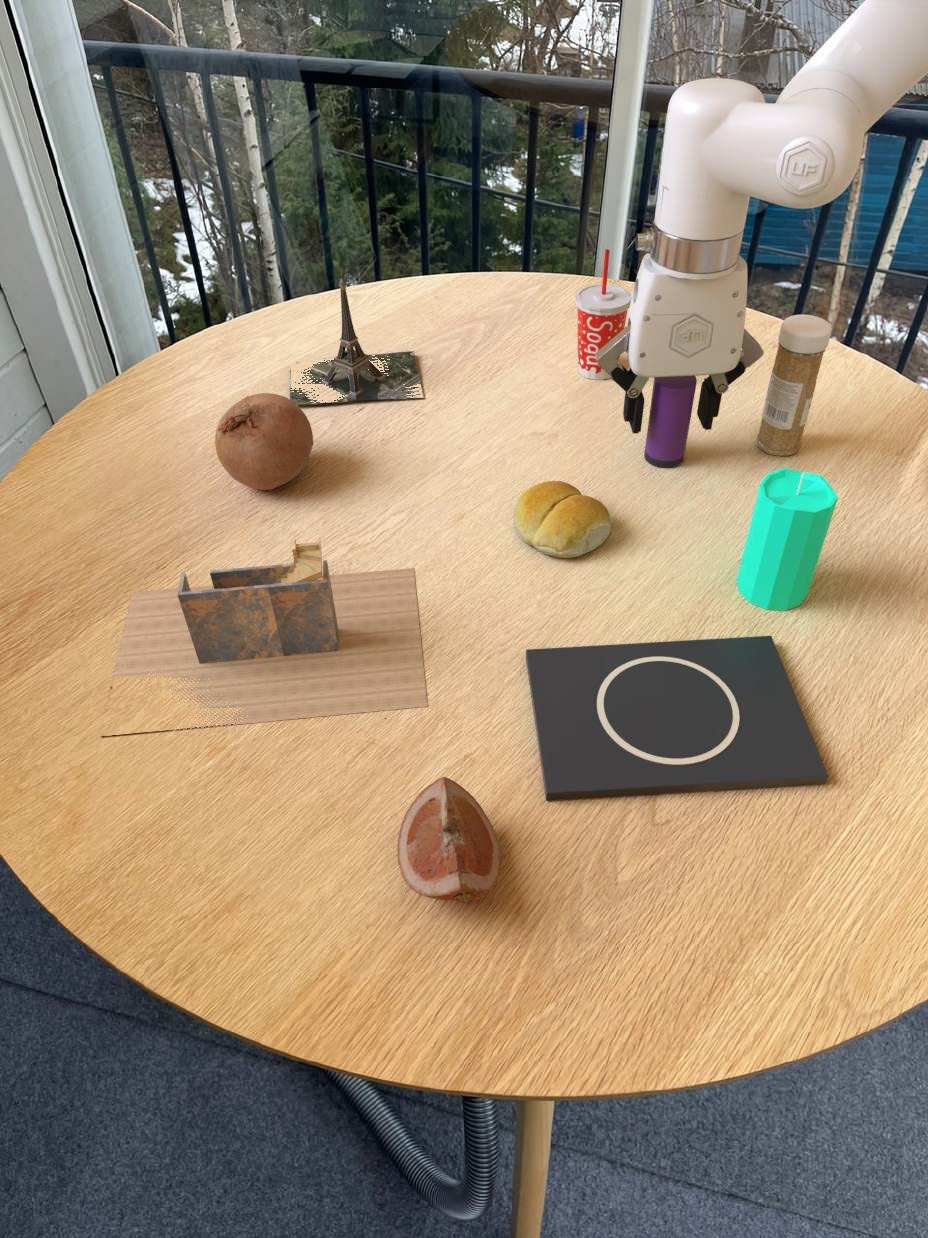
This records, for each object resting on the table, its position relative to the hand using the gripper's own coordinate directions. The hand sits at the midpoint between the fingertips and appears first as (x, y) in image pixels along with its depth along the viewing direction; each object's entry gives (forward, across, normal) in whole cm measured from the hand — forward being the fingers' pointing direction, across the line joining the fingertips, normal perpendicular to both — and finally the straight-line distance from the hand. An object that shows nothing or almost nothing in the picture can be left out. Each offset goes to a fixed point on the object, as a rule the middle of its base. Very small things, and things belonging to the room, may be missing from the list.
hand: (668, 422), depth 93 cm
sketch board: (+4, -7, -34) cm, 35 cm away
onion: (+4, -40, 0) cm, 40 cm away
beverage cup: (+4, -4, +18) cm, 19 cm away
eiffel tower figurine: (+4, -32, +18) cm, 37 cm away
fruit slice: (+4, -24, -46) cm, 52 cm away
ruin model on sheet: (+4, -38, -24) cm, 45 cm away
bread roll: (+4, -12, -11) cm, 17 cm away
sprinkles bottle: (+4, +12, +1) cm, 13 cm away
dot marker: (+4, 0, 0) cm, 4 cm away
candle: (+4, +5, -20) cm, 21 cm away
